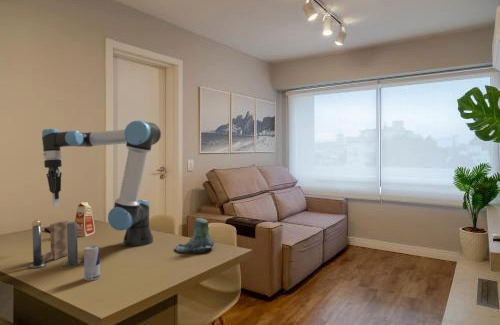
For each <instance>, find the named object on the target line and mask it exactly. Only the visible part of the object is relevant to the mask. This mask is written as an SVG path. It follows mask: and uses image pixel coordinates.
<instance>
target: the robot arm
mask: <svg viewBox="0 0 500 325" xmlns="http://www.w3.org/2000/svg"><path fill="white" fill-rule="evenodd" d="M161 137H162V131H161V129H160V127H159V126H158V124H155V123H154V122H148V121H144V120H141V119H140V120H133V121H131V122H129V123H128V124H126V126H125V129H116V130H115V129H113V130H103V131H102V130H101V131H91V132H80V130H68V131H62V132H61V131H59V129H56V128H46V129H45V128H43V129H42V132H41V139H42V147H43V148H42V149H43V153H42V155H43V159H44V162H43V163H44V165H43V166H44V168H46V169H47V168H48V171H47V173H46V177H47V183H48V189H49V192H50V193H51V197H52V199H51V200H52V207H57V206H61V201H60V192H61V190H62V172H60V169H59V168H61V167H62V160H61V159H62V152H61V148H65V147H85V148H90V147H97V146H98V147H99V146H110V145H111V146H112V145H124V144H125V147H126V148H127V149H128V152H127V157H126V161H125V168H124V172H123V177H122V182H121V187H120V190H119V197H118V198H116V199H115V201H114V205H113V208H111V209H110V211H109V212H108V214H107V222H108V224H109V225H110V227H112V228H113V229H114V230H116V231H125V234H124V238H123V242H122V243H123V245H124V246H127V247H139V246H145V245H150V244H152V243H153V242H154V236H153V234H152V230H151V227H150V202H149V200H148V199H147V200H146V199H139V192H140V188H141V184H142V179H143V173H144V168H145V164H146V160H147V154H148V153H149V152H151V151H152V150H151V149H152V147H153V145H156V144H158V142H159V141H160V140H161Z"/></svg>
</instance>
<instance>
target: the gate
mask: <svg viewBox="0 0 500 325" xmlns="http://www.w3.org/2000/svg"><path fill="white" fill-rule="evenodd" d="M67 223H69V222H68V220H61V221H58V222H53V223H50V224H49V227H50V233H49V234H50V236H49V237H50V251H49V252H45V253H43V254H42V262H43V263H46V262H47V261H50V260H55V261H56V260H58V259H61V258H62V257H66V256H68V244H67Z"/></svg>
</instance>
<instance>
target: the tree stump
mask: <svg viewBox="0 0 500 325" xmlns="http://www.w3.org/2000/svg"><path fill="white" fill-rule="evenodd" d="M215 243H216V242H214V241H212V238H211V236H210V233H209V223H208V220H207V219H205V218H204V217H196V218H195V222H194V224H193V235H192V236H191V237H190V239H189V241H188V242H186V243H184V244H182V243H179V244H178V245H177V246H175V247H174V250H175V252H177V253H179V254H200V253H201V254H202V253H204V252H206V251H208V250H211V249H212V247H214V246H215Z"/></svg>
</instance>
